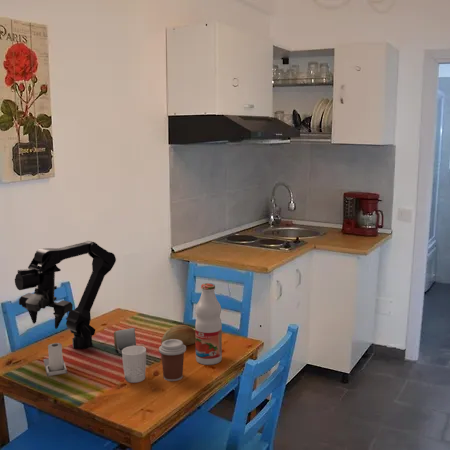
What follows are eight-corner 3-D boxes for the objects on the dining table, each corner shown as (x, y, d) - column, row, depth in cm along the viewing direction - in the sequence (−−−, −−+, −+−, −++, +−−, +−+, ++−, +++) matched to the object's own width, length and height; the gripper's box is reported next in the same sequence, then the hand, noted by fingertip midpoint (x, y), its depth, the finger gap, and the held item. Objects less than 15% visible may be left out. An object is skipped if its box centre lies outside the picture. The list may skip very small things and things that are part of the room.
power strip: (43, 363, 193) (43, 356, 192) (62, 360, 195) (62, 353, 195) (47, 380, 179) (47, 373, 179) (67, 377, 182) (67, 370, 181)
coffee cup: (175, 385, 175) (175, 350, 173) (153, 378, 180) (152, 344, 178) (192, 374, 183) (191, 341, 181) (170, 368, 188) (169, 336, 186)
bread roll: (203, 346, 208) (203, 326, 206) (167, 353, 201) (166, 333, 200) (193, 338, 216) (192, 319, 215) (157, 345, 209) (157, 325, 208)
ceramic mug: (114, 345, 209) (113, 326, 207) (135, 343, 210) (134, 325, 209) (115, 357, 198) (114, 337, 197) (137, 354, 200) (136, 335, 199)
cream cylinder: (62, 367, 186) (60, 341, 185) (63, 372, 182) (62, 345, 181) (48, 369, 184) (47, 343, 183) (50, 374, 180) (48, 348, 179)
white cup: (127, 385, 175) (126, 356, 174) (120, 376, 182) (118, 348, 181) (150, 380, 179) (149, 352, 177) (142, 371, 186) (141, 343, 184)
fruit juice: (227, 359, 196) (226, 284, 191) (210, 367, 188) (209, 290, 184) (207, 352, 201) (206, 279, 197) (190, 361, 194) (189, 285, 190)
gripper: (8, 286, 186) (8, 328, 189) (54, 296, 180) (54, 339, 184) (29, 277, 196) (28, 317, 199) (74, 286, 191) (72, 328, 194)
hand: (45, 325), depth 194 cm, fingers open, 9 cm apart
